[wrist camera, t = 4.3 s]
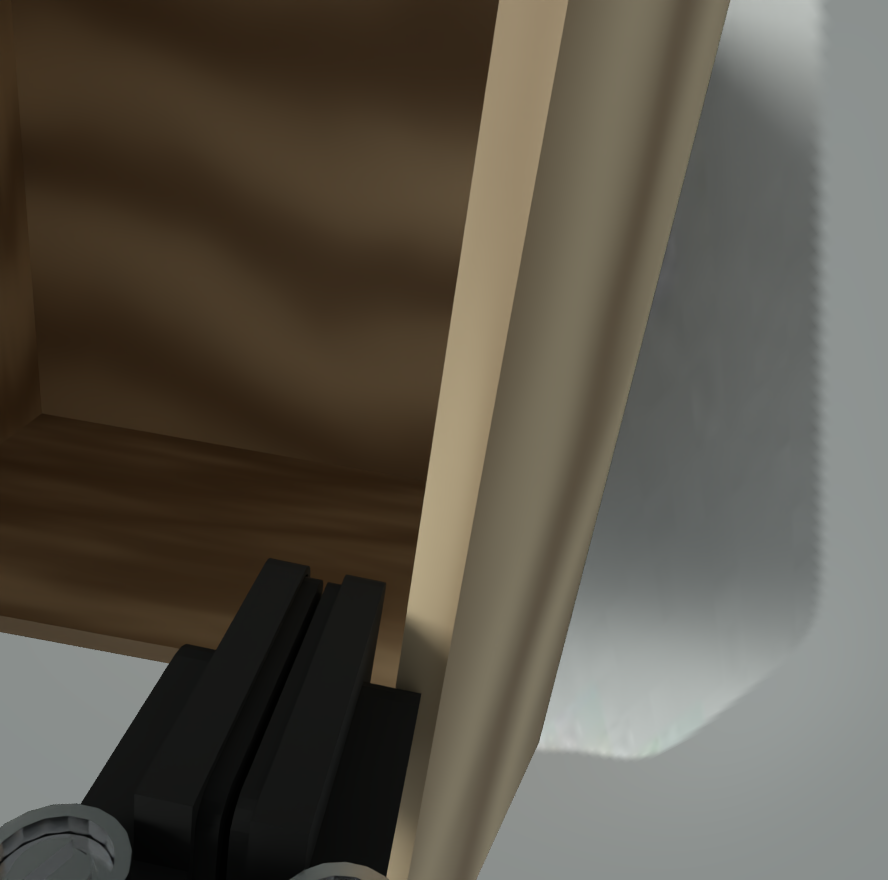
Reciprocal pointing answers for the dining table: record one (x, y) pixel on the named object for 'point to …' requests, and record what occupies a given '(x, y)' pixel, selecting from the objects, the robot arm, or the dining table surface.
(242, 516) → the carton
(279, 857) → the robot arm
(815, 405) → the dining table surface
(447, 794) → the flap
